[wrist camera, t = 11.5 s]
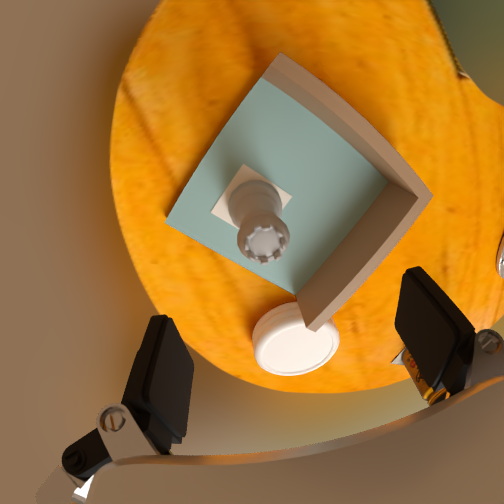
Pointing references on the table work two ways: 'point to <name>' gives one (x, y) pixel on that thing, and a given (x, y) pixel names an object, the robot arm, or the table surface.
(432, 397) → the condiment
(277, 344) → the white round container
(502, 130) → the table surface
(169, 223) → the corner arena
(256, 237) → the rook chess piece
